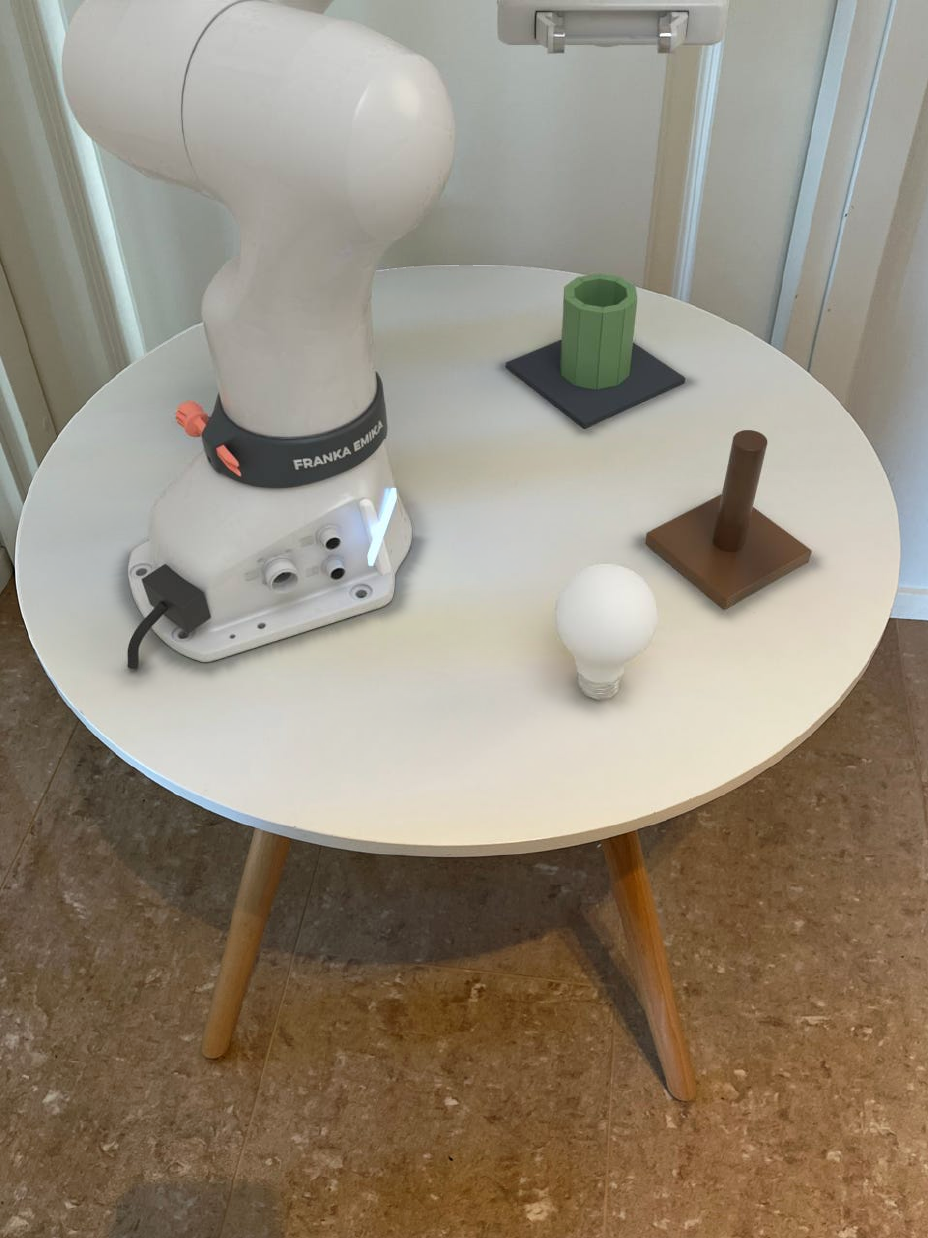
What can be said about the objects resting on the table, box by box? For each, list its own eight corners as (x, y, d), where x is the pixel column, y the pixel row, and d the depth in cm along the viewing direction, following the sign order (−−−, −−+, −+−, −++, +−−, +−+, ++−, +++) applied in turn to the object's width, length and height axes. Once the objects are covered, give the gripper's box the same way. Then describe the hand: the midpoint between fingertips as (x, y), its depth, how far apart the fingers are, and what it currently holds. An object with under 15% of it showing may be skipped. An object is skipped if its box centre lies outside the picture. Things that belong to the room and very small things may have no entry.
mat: (584, 429, 94) (584, 423, 94) (505, 367, 101) (505, 362, 101) (685, 383, 99) (685, 377, 98) (603, 327, 106) (603, 321, 105)
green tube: (590, 397, 96) (596, 319, 91) (546, 364, 100) (548, 287, 94) (643, 374, 99) (652, 296, 93) (598, 342, 103) (604, 266, 97)
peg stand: (724, 610, 79) (749, 497, 71) (644, 543, 84) (659, 431, 76) (809, 561, 82) (843, 448, 74) (727, 500, 87) (750, 388, 79)
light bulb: (641, 735, 71) (659, 624, 63) (543, 720, 72) (548, 609, 64) (649, 661, 76) (667, 548, 67) (557, 648, 77) (563, 536, 69)
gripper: (498, -48, 98) (489, 3, 88) (722, -49, 96) (737, 2, 87) (498, 27, 102) (490, 82, 93) (712, 27, 101) (725, 83, 91)
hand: (611, 43), depth 90 cm, fingers open, 8 cm apart
